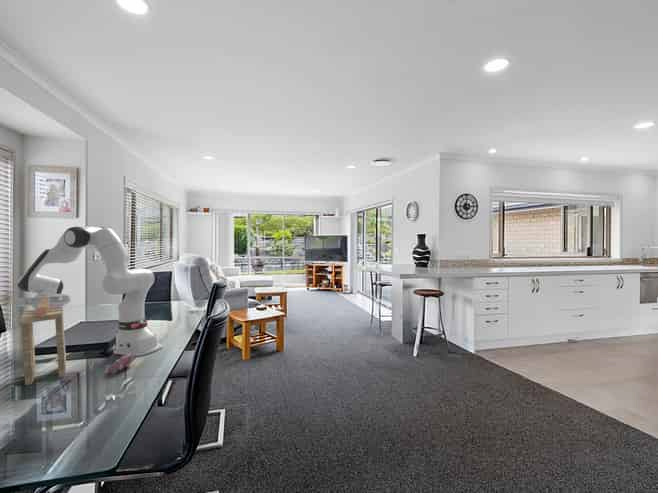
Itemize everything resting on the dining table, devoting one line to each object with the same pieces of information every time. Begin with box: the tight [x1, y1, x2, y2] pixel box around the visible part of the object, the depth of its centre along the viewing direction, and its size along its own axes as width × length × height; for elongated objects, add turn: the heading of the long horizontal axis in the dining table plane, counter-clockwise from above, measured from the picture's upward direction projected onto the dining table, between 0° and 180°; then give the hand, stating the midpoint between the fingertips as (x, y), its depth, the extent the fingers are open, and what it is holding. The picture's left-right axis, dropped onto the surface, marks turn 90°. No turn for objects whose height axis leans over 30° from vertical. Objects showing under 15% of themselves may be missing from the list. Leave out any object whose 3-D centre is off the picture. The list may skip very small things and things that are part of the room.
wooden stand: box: [19, 306, 67, 386], centre depth 135 cm, size 16×12×26 cm
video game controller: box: [107, 354, 136, 374], centre depth 140 cm, size 10×5×7 cm, turn 169°
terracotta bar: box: [36, 298, 50, 315], centre depth 139 cm, size 22×3×3 cm, turn 37°
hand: (45, 299), depth 160 cm, fingers open, 8 cm apart
